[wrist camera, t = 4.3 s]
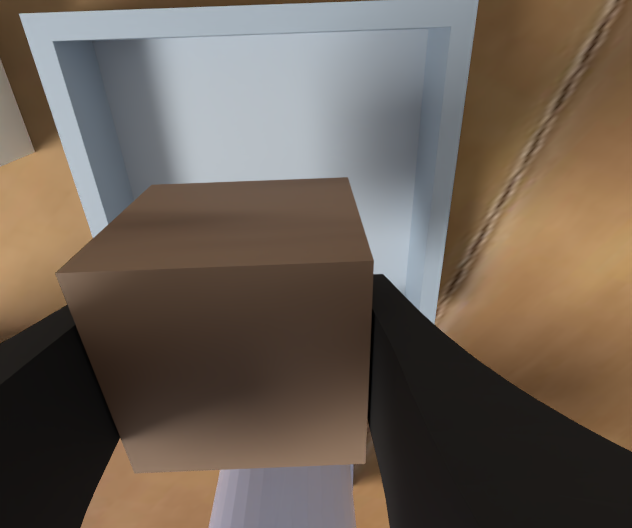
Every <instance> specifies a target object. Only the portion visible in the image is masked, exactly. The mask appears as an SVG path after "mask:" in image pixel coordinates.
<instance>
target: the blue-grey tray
mask: <svg viewBox="0 0 632 528" xmlns="http://www.w3.org/2000/svg"><path fill="white" fill-rule="evenodd" d="M478 1H479V0H380V1H352V2H325V3H297V4H270V5H242V6H215V7H187V8H160V9H132V10H105V11H77V12H50V13H22V14H19V16H20V19H21V22H22V25H23V28H24V31H25V34H26V37H27V40H28V43H29V46H30V49H31V52H32V55H33V58H34V61H35V64H36V67H37V70H38V73H39V76H40V79H41V82H42V85H43V88H44V91H45V94H46V97H47V100H48V103H49V106H50V109H51V112H52V116H53V119H54V122H55V125H56V128H57V131H58V134H59V137H60V140H61V143H62V146H63V149H64V152H65V155H66V158H67V161H68V164H69V167H70V170H71V173H72V176H73V179H74V182H75V185H76V188H77V191H78V194H79V197H80V200H81V203H82V206H83V209H84V212H85V215H86V218H87V221H88V224H89V227H90V230H91V233H92V236H93V238H94V237H95V236H96V235H97V234H98V233H100V232H101V231H102V230H103V229H104V228H105V227H106V226H107V225H108V224H109V223H110V222H111V221H113V220H114V219H115V218H116V217H117V216H118V215H119V214H120V213H121V212H122V211H123V210H125V209H126V208H127V207H128V206H129V205H130V204H131V203H132V202H133V201H134V200H135V199H137V198H138V197H139V196H140V195H141V194H142V193H143V192H144V191H145V190H146V189H147V188H148V187H150V186H151V185H157V184H183V183H210V182H236V181H262V180H288V179H314V178H340V177H348V179H349V183H350V186H351V189H352V192H353V195H354V199H355V202H356V205H357V208H358V211H359V215H360V218H361V221H362V224H363V227H364V231H365V234H366V237H367V240H368V243H369V247H370V250H371V253H372V256H373V259H374V271H373V274H384V275H385V276H386V277H387V278H388V279H389V280H390V281H391V282H392V283H393V285H394V286H395V287H396V288H397V289H398V290H399V291H400V292H401V293H402V294H403V295H404V296H405V297H406V298H407V299H408V300H409V301H410V302H411V303H412V304H413V305H414V306H415V307H416V308H417V309H418V310H419V311H420V312H421V313H422V314H423V315H425V316H426V317H427V318H428V319H429V320H430V321H431V322H432V323H433V324H434V323H435V316H436V308H437V301H438V294H439V286H440V279H441V272H442V265H443V257H444V250H445V243H446V235H447V228H448V221H449V213H450V206H451V199H452V191H453V184H454V177H455V170H456V162H457V155H458V148H459V140H460V133H461V126H462V118H463V111H464V104H465V96H466V89H467V82H468V75H469V67H470V60H471V53H472V45H473V38H474V31H475V23H476V16H477V9H478Z"/></svg>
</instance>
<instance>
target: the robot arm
mask: <svg viewBox="0 0 632 528" xmlns="http://www.w3.org/2000/svg"><path fill="white" fill-rule="evenodd" d="M367 419H368V423H369V427H370V431H371V435H372V439H373V444H374V448H375V452H376V456H377V460H378V465H379V469H380V473H381V477H382V482H383V487H384V493H385V498H386V504H387V511H388V518H389V525H390V528H632V452H631V451H629V450H627V449H625V448H623V447H621V446H619V445H617V444H615V443H613V442H611V441H609V440H607V439H606V438H604V437H602V436H600V435H598V434H596V433H594V432H593V431H591V430H589V429H587V428H585V427H583V426H581V425H580V424H578V423H576V422H574V421H572V420H571V419H569V418H567V417H566V416H564V415H562V414H561V413H559V412H557V411H555V410H554V409H552V408H550V407H549V406H547V405H545V404H544V403H542V402H540V401H538V400H537V399H535V398H533V397H532V396H530V395H529V394H527V393H526V392H524V391H522V390H521V389H519V388H518V387H516V386H515V385H513V384H512V383H510V382H509V381H507V380H506V379H504V378H503V377H501V376H500V375H498V374H497V373H496V372H494V371H493V370H491V369H490V368H488V367H487V366H485V365H484V364H483V363H481V362H480V361H478V360H477V359H476V358H474V357H473V356H472V355H470V354H469V353H468V352H467V351H465V350H464V349H463V348H462V347H460V346H459V345H458V344H457V343H455V342H454V341H453V340H452V339H451V338H449V337H448V336H447V335H446V334H444V333H443V332H442V331H441V330H440V329H439V328H438V327H436V326H435V325H434V324H433V323H432V322H431V321H430V320H429V319H428V318H427V317H426V316H425V315H423V314H422V313H421V312H420V311H419V310H418V309H417V308H416V307H415V306H414V305H413V304H412V303H411V302H410V301H409V300H408V299H407V298H406V297H405V296H404V295H403V294H402V293H401V292H400V291H399V290H398V289H397V288H396V287H395V286H394V285H393V283H392V282H391V281H390V280H389V279H388V278H387V277H386V276H385V275H384V274H373V295H372V319H371V343H370V367H369V391H368V415H367ZM119 439H120V435H119V433H118V430H117V428H116V425H115V423H114V420H113V418H112V415H111V413H110V410H109V408H108V405H107V403H106V400H105V398H104V395H103V393H102V390H101V388H100V385H99V383H98V380H97V378H96V375H95V372H94V370H93V367H92V365H91V362H90V360H89V357H88V355H87V352H86V350H85V347H84V345H83V342H82V340H81V337H80V335H79V332H78V330H77V327H76V325H75V322H74V320H73V317H72V315H71V312H70V310H69V307H68V305H66V306H65V307H63V308H61V309H59V310H58V311H56V312H54V313H53V314H51V315H49V316H48V317H46V318H44V319H42V320H41V321H39V322H37V323H36V324H34V325H32V326H31V327H29V328H27V329H25V330H24V331H22V332H20V333H19V334H17V335H15V336H13V337H12V338H10V339H8V340H6V341H4V342H3V343H1V344H0V528H80V527H81V524H82V522H83V519H84V516H85V513H86V511H87V508H88V506H89V504H90V501H91V499H92V497H93V494H94V492H95V490H96V487H97V485H98V483H99V481H100V479H101V477H102V475H103V473H104V470H105V468H106V466H107V464H108V462H109V460H110V458H111V456H112V454H113V451H114V449H115V447H116V445H117V443H118V441H119ZM209 528H356V521H355V511H354V501H353V464H349V465H325V466H300V467H276V468H251V469H227V470H220V474H219V479H218V484H217V489H216V494H215V499H214V504H213V509H212V514H211V519H210V524H209Z"/></svg>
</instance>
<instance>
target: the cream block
mask: <svg viewBox="0 0 632 528" xmlns="http://www.w3.org/2000/svg"><path fill="white" fill-rule="evenodd" d="M34 152H35V151H34V148H33V145H32V143H31V140H30V137H29V135H28V132H27V129H26V127H25V124H24V121H23V118H22V116H21V113H20V110H19V108H18V105H17V102H16V100H15V97H14V94H13V92H12V89H11V86H10V83H9V81H8V78H7V75H6V73H5V70H4V67H3V65H2V62H1V59H0V166H3V165H5V164H7V163H10V162H12V161H15V160H17V159H20V158H22V157H25V156H27V155H29V154H32V153H34Z"/></svg>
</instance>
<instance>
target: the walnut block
mask: <svg viewBox="0 0 632 528" xmlns="http://www.w3.org/2000/svg"><path fill="white" fill-rule="evenodd" d="M373 271H374V259H373V256H372V253H371V250H370V247H369V243H368V240H367V237H366V234H365V231H364V227H363V224H362V221H361V218H360V215H359V211H358V208H357V205H356V202H355V199H354V195H353V192H352V189H351V186H350V183H349V179H348V177H340V178H314V179H288V180H262V181H236V182H210V183H183V184H157V185H151V186H150V187H148V188H147V189H146V190H145V191H144V192H143V193H142V194H141V195H140V196H139V197H138V198H137V199H135V200H134V201H133V202H132V203H131V204H130V205H129V206H128V207H127V208H126V209H125V210H123V211H122V212H121V213H120V214H119V215H118V216H117V217H116V218H115V219H114V220H113V221H111V222H110V223H109V224H108V225H107V226H106V227H105V228H104V229H103V230H102V231H101V232H100V233H98V234H97V235H96V236H95V237H94V238H93V239H92V240H91V241H90V242H89V243H88V244H86V245H85V246H84V247H83V248H82V249H81V250H80V251H79V252H78V253H77V254H76V255H74V256H73V257H72V258H71V259H70V260H69V261H68V262H67V263H66V264H65V265H64V266H63V267H61V268H60V269H59V270H58V271H57V272H56V273H55V274H56V277H57V279H58V282H59V284H60V287H61V289H62V292H63V294H64V297H65V300H66V302H67V305H68V307H69V310H70V312H71V315H72V317H73V320H74V322H75V325H76V327H77V330H78V332H79V335H80V337H81V340H82V342H83V345H84V347H85V350H86V352H87V355H88V357H89V360H90V362H91V365H92V367H93V370H94V372H95V375H96V378H97V380H98V383H99V385H100V388H101V390H102V393H103V395H104V398H105V400H106V403H107V405H108V408H109V410H110V413H111V415H112V418H113V420H114V423H115V425H116V428H117V430H118V433H119V435H120V438H121V440H122V443H123V445H124V448H125V450H126V453H127V456H128V458H129V461H130V463H131V466H132V468H133V471H134V473H154V472H178V471H203V470H227V469H251V468H276V467H300V466H325V465H349V464H365V463H366V439H367V415H368V391H369V367H370V343H371V319H372V295H373Z"/></svg>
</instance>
